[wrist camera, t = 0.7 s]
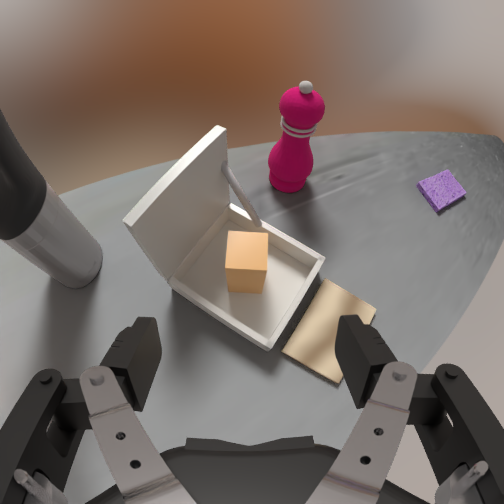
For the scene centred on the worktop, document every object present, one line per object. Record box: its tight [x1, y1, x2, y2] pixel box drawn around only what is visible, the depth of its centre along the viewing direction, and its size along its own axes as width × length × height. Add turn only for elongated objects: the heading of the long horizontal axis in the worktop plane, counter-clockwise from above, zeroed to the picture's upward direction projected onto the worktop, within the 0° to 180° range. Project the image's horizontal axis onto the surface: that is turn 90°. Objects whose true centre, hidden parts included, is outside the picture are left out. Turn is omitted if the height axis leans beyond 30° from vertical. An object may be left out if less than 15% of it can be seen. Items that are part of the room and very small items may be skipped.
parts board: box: [281, 278, 376, 383], centre depth 38 cm, size 9×12×1 cm
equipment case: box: [122, 125, 325, 352], centre depth 33 cm, size 17×14×18 cm
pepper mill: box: [268, 81, 325, 193], centre depth 40 cm, size 7×7×20 cm
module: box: [225, 231, 268, 294], centre depth 36 cm, size 4×4×9 cm
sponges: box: [416, 169, 466, 212], centre depth 50 cm, size 7×13×2 cm, turn 116°
